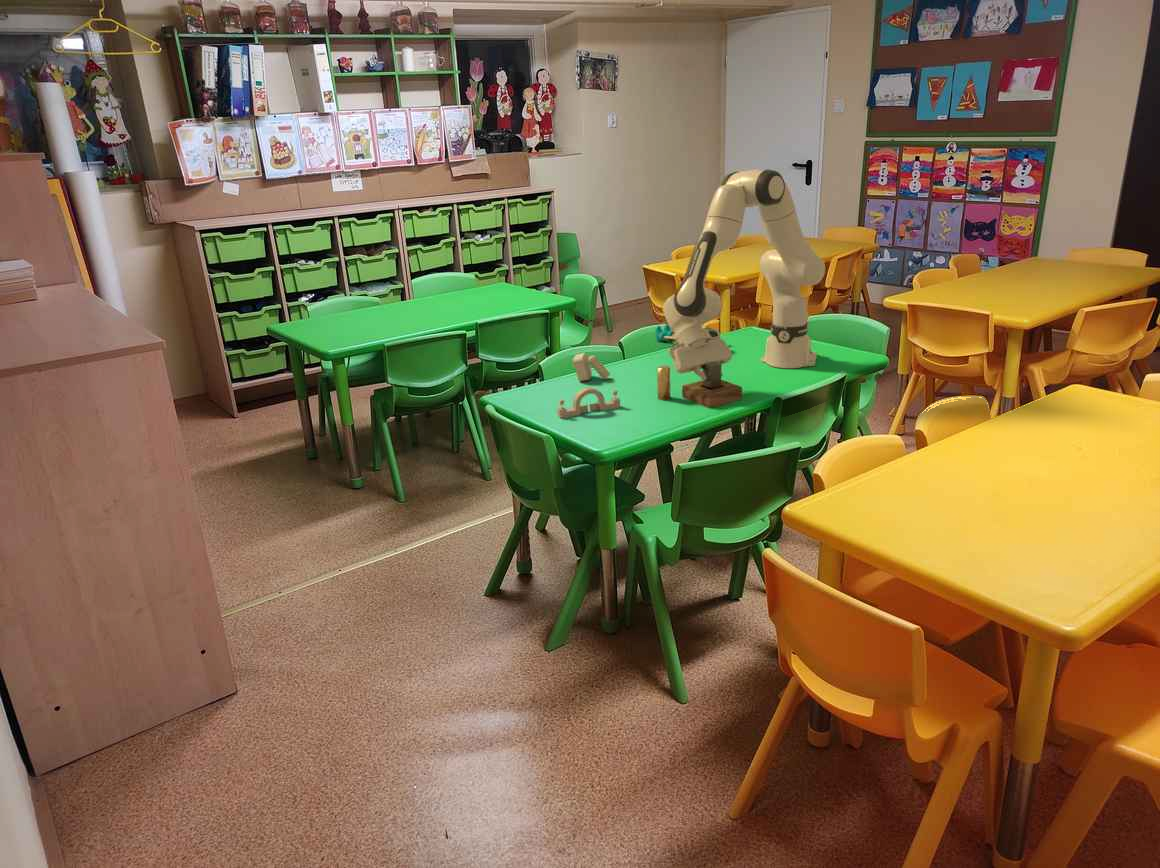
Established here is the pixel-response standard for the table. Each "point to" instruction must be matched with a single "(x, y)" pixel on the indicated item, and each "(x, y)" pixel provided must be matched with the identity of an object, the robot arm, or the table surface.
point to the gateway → (595, 406)
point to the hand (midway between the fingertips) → (713, 378)
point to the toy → (670, 333)
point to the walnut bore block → (712, 393)
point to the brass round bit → (663, 382)
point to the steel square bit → (712, 375)
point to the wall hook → (588, 367)
